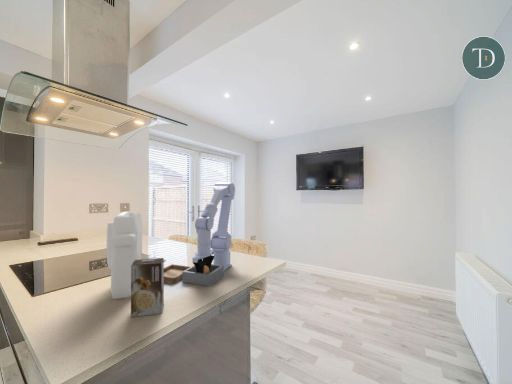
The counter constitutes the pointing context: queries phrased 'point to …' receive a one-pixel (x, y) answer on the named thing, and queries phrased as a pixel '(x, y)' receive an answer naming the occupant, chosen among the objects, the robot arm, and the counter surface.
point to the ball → (206, 270)
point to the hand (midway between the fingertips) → (203, 274)
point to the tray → (173, 273)
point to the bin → (202, 275)
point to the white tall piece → (123, 251)
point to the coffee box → (147, 287)
